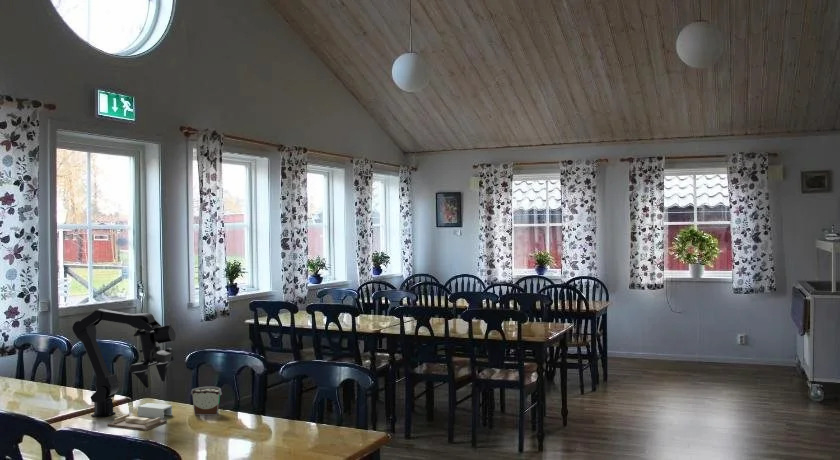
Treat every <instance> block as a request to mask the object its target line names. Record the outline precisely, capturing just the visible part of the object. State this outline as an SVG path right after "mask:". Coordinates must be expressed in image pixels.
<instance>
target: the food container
mask: <svg viewBox="0 0 840 460" xmlns="http://www.w3.org/2000/svg"><path fill="white" fill-rule="evenodd" d="M190 395H192V403H193V412H194V414H195V416H218V415H219V409H220V398H221V395H223V393H222V389H221V387H219V386H201V387H195V388H192V389H191V391H190Z"/></svg>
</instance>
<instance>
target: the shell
mask: <svg viewBox="0 0 840 460" xmlns="http://www.w3.org/2000/svg"><path fill="white" fill-rule="evenodd" d="M165 416H173V405H172V404H162V403H152V402H146V403H144V404H141V405H137V417H144V418H150V419H155V418H158V417H159V418H161V420H164V419H165Z"/></svg>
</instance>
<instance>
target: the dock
mask: <svg viewBox="0 0 840 460" xmlns="http://www.w3.org/2000/svg"><path fill="white" fill-rule="evenodd" d="M167 422H168V421H167V420H166V419H165V420H164V419H161V418H159V417H158V418H150V417H142V416H133V415H130V413H126V414H124V415H121V416H119V417H116V418H113V421H112V422H109V423H107V427H112V428H113V427H114V428H121V429H128V430H138V431H149V430H152V429H154V428H156V427H159V426H161V425H164V424H167Z"/></svg>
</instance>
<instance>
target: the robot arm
mask: <svg viewBox="0 0 840 460" xmlns="http://www.w3.org/2000/svg"><path fill="white" fill-rule="evenodd" d="M102 321H106V322H107V321H108V322H112V323H119V324H123V325H124V324H126V325H128V326H130V327H131V328H135V329H136V332H134V334H133V337H139V341H140V342H139V343H140V347H141V348H140V349H139V353H142V359H141V360H140V361H141V362H136V363H133V364H131V365H130V366H129V373H132V375H135V377H137V379H139V381H140V382H141V383H142V384H143V386H144V388H145V389H148V388H149V377H148V373H149V372H150V369H149V367H151V366H154V365H155V367H156V370H157V372H158V374H159V377H160V380H161V382H165V381H166V376H167V371H168V367H169V366H170V365H171V364H172V362H173V361H174V351H173V348H171V347H167V348H166V349H164V350H162V349H161V346H160V345H157V343H158V344H165V343H167V344H168V343H173V342H175V340H176V331H175V330H174V328H173V327H172V324H166V325H161V324H160V323H159V322H158V321H157V320H156V319H155V317H154V315H153V314H152V313H150V312H149V313H148V312H147V313H146V312H143V313H142V312H141V313H128V312H122V311H116V310H110V309H105V308H98V309H96V310H94V311H92V312H91V313H90V314H89V315H87V316H85V317H84V318H82V319H80V320H77V321H74V323H73V325H72V327H71V330H72V332H73V334H74V335H75V337H76V339H78V340H79V341H80V342H81V343H82V344H83V347H84V349H85V353H86V354H87V357H88V359H89V362H90V365H91V367H92V369H93V372H94V375H95V390H96V391H95V392H94V393H93V394H91V396H90V400H91V403H94V405H93V409H94V410H93V412H94V413H92V414H91V415H90V416H91V417H94V418H97V417H98V418H106V417H109V416H113V415H115V414H116V411H114V402H113V398H114V397H115V396H116V393H117V392H118V391H119V389H120V381H119V380H118V376H117V374H116V373H114V374H112V373H111V372H110V371H109V369H108V367H107V363H106V362H105V359H104V357H103V354H102V351H101V349H100V346H99V343H98V341H97V326H98V325H99V324H100V323H101V322H102Z"/></svg>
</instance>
